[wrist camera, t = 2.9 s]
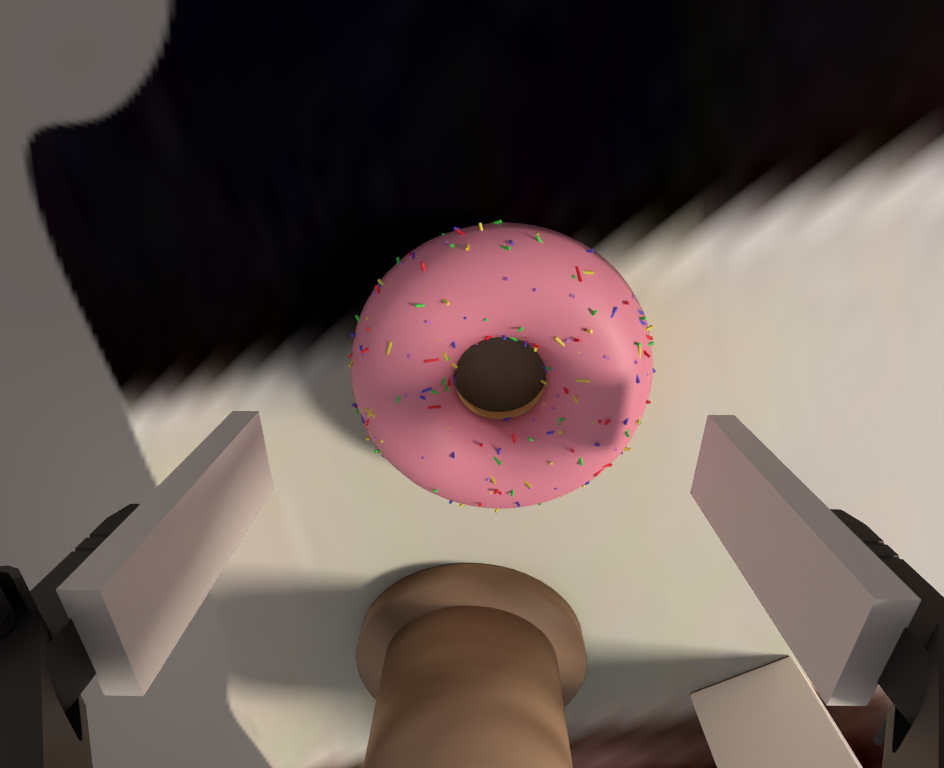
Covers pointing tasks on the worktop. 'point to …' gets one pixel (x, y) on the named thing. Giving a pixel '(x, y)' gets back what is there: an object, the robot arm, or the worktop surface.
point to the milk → (770, 722)
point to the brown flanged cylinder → (470, 670)
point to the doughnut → (504, 315)
